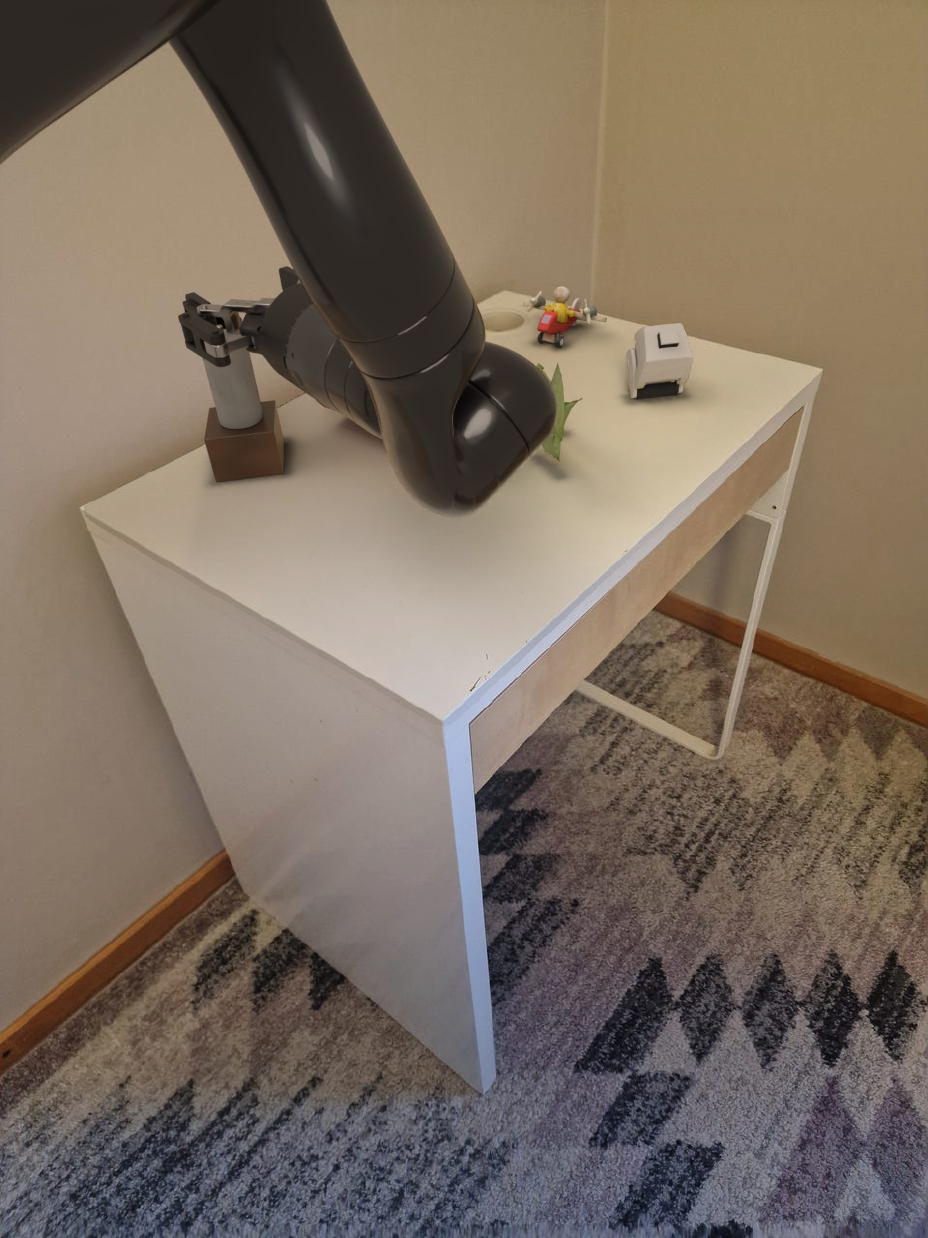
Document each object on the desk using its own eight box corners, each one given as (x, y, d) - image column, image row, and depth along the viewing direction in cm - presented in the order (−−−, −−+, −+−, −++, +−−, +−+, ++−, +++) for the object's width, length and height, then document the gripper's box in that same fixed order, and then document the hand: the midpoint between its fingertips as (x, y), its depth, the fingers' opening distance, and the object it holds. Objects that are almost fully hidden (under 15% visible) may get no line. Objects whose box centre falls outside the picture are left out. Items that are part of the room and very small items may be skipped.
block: (215, 482, 89) (203, 439, 86) (220, 449, 94) (209, 407, 91) (283, 473, 89) (273, 431, 86) (284, 441, 95) (275, 399, 91)
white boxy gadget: (626, 408, 100) (648, 370, 90) (617, 355, 101) (637, 312, 91) (675, 403, 100) (702, 364, 90) (666, 350, 101) (691, 306, 91)
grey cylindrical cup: (263, 406, 90) (241, 309, 84) (264, 426, 87) (242, 327, 80) (219, 412, 90) (194, 315, 83) (219, 432, 86) (193, 333, 80)
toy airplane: (539, 352, 108) (539, 302, 104) (521, 325, 115) (521, 277, 111) (608, 343, 110) (611, 293, 105) (586, 317, 116) (588, 268, 112)
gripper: (412, 272, 62) (304, 225, 73) (234, 327, 56) (144, 267, 66) (420, 369, 67) (319, 312, 77) (258, 429, 61) (170, 358, 71)
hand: (238, 291), depth 72 cm, fingers open, 8 cm apart
